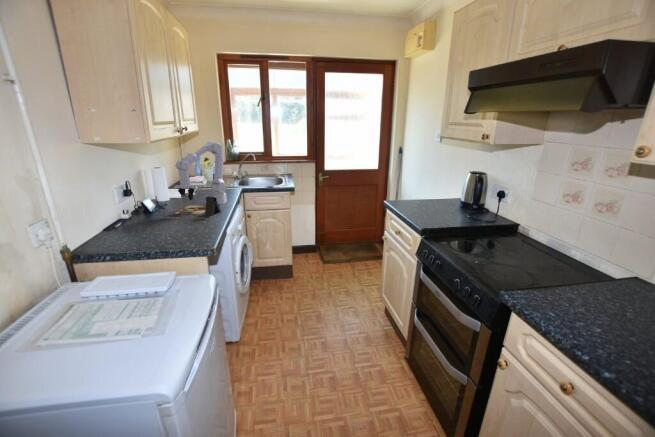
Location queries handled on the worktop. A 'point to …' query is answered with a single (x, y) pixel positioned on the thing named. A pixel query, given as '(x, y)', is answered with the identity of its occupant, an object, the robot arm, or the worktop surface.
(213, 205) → the phone stand
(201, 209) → the board
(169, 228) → the worktop surface
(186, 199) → the bar
